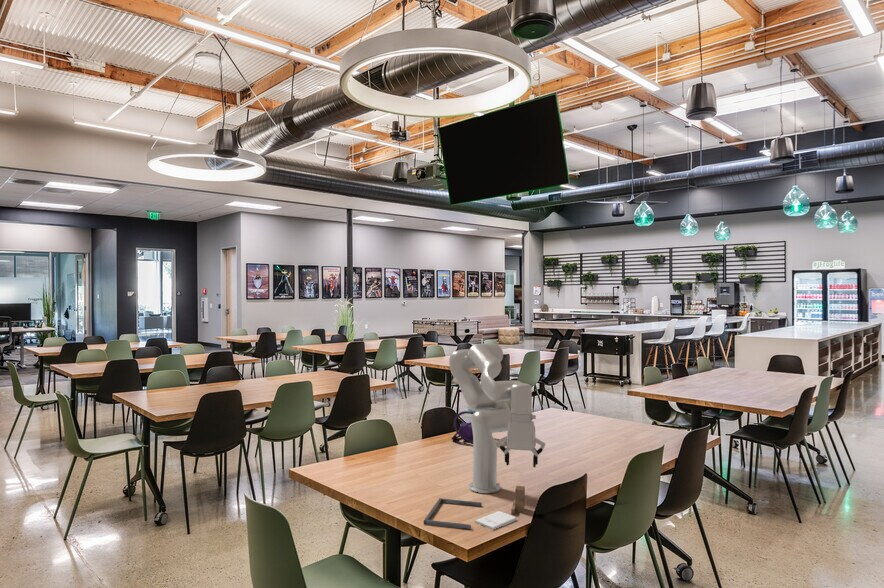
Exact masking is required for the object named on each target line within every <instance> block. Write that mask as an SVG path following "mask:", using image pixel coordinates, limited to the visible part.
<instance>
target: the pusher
mask: <svg viewBox="0 0 884 588" xmlns="http://www.w3.org/2000/svg"><path fill="white" fill-rule="evenodd" d="M525 490H526V486H523V485H516V486H515V492H514V493H515V495H514V497H515V498H514V499H513V502H512V505H511V508H510V511H511V512H510V515H511V516H515V514H516V513H517V512H518V513H524V512H525V509H524V508H525V507H526V506H525V505H526V504H525V502H526V501H525V500H526V499H525V498H526V497H525V496H526V495H525V494H526V493H525V492H526V491H525Z"/></svg>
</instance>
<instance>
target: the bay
mask: <svg viewBox="0 0 884 588" xmlns="http://www.w3.org/2000/svg"><path fill="white" fill-rule="evenodd" d="M441 502H442V503H441ZM449 503H453V504H452V505H459V504H462V505H461V506H468V505H469V506H471V507H480V508H481V507H482V505H483V504H482V502H481V501H480V502H478V501H469V500H460V499H452V498H451V499H449V498H438V500H437V501H436V502H435V504H434V505H433V506H432V508H431V510H430V511H429V513H428V514H427V515H426V517H425V518H424V520H423V525H426V524H428V525H427V526H429V525H430V526H435V525H437V526H436V527H443V526H447V527H446V528H452V527H456V528H455V529H460V528H467V529H466V530H469V529H472V524H467V523H459V522H450V521H440V520H433V519H431V518H432V517H433V515H434V514H435V513H436V512H437V510H438V508H439V507H440V506H441V504H449ZM439 505H440V506H439Z"/></svg>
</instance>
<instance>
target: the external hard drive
mask: <svg viewBox="0 0 884 588" xmlns="http://www.w3.org/2000/svg"><path fill="white" fill-rule="evenodd" d="M517 518H518V517H516V516H515V515H511V514H508V513H505V512H503V511H500V510H497V511H494V512H492V513H491V514H488V515H485V516H483V517H480V518H478V519H476V520H474V524H476V523H477V524H476V525H479V524H480V526H481V525H483V527H485V528H486V527H487V528H486V529H489V528H490V529H489V530H491V529H492V530H491V531H495V530H497V529H499V527H500V528H501V526H502V527H504V526H506V525H509V524H511V523H514V522H516V521H517ZM496 528H497V529H496ZM494 529H495V530H494Z"/></svg>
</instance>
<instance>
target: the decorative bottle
mask: <svg viewBox="0 0 884 588" xmlns="http://www.w3.org/2000/svg"><path fill="white" fill-rule="evenodd" d="M465 410H466V411H465ZM465 410H464V411H460V412H459V413H457V414H456V415H455V417H454V419H453V428H454V430H455V432H456V433H455V434H453V436H452V437H451V440H452V441H453V440H456V439H458V438H461V439H462V440H463V441H464V440H466V441H465V442H467V441H468V443H472V444H473V430H472V424H471V421H469V422H461V423H460V426H459V429H458V428H457V420H458V418H459V417H460V416H462V415H464V414H471V415H473V414H474V413H475V412H476V411H472V410H470V409H469V407H468V405H467V404H466V409H465ZM462 419H464V418H462ZM455 438H456V439H455Z"/></svg>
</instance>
